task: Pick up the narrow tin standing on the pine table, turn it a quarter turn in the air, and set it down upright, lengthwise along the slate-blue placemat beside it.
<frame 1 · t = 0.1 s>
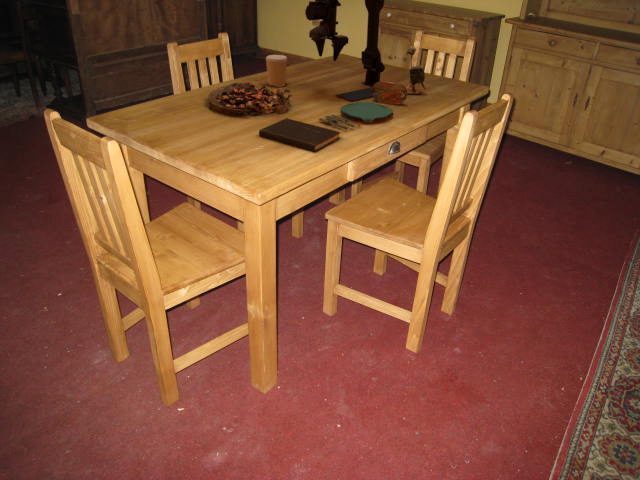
hand: (327, 58, 215), 15 cm above the table, tool pointing down, fingers open, 9 cm apart
tin: (388, 103, 215), on the table
food dish: (248, 104, 207), on the table
plant with pod: (412, 93, 229), on the table
hardcover book: (299, 138, 178), on the table
placemat: (360, 95, 223), on the table
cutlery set: (357, 118, 197), on the table
glass of beer: (276, 84, 232), on the table
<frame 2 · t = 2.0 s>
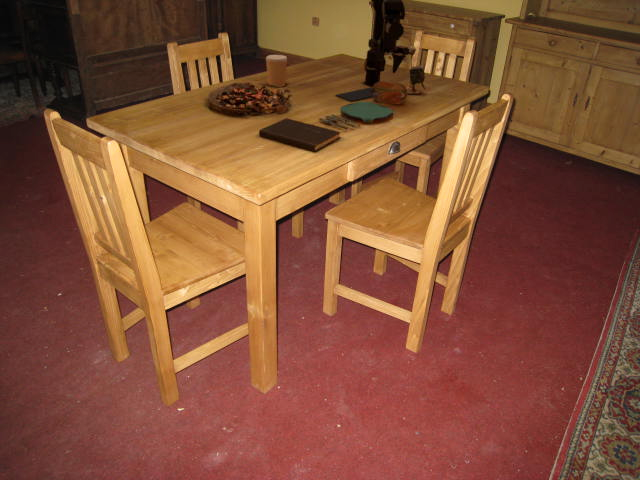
hand: (386, 74, 209), 11 cm above the table, tool pointing down, fingers open, 9 cm apart
nothing on the table moved.
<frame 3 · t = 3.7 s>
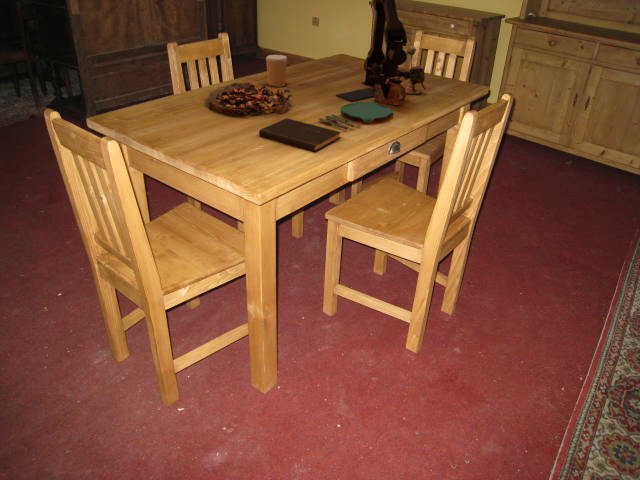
hand: (387, 97, 214), 2 cm above the table, tool pointing down, fingers closed on tin, 3 cm apart
tin: (388, 103, 215), on the table, touching gripper
everything else where it was.
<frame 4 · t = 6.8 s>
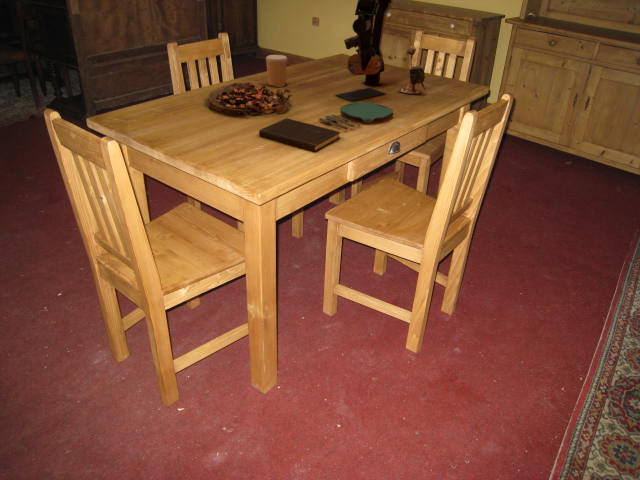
hand: (362, 69, 217), 11 cm above the table, tool pointing down, fingers closed on tin, 3 cm apart
tin: (363, 74, 219), point 9 cm above the table, touching gripper
everything else where it was.
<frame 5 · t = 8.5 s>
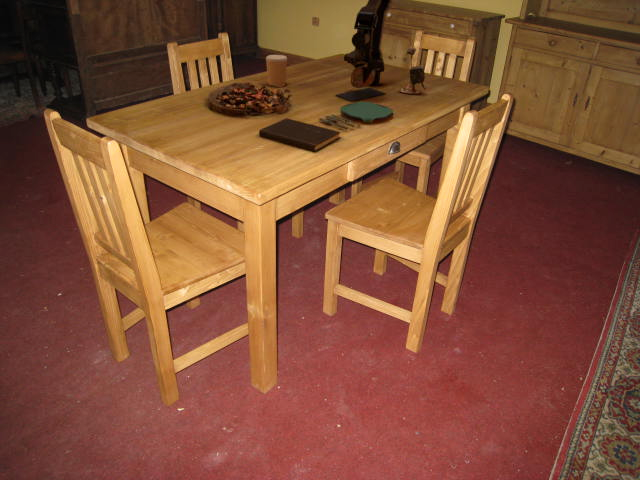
hand: (361, 81, 220), 6 cm above the table, tool pointing down, fingers closed on tin, 3 cm apart
tin: (361, 86, 222), point 4 cm above the table, touching gripper
everything else where it was.
when the fingers open (2 cm above the table, at t = 9.7 s): tin stays where it is, resting on placemat.
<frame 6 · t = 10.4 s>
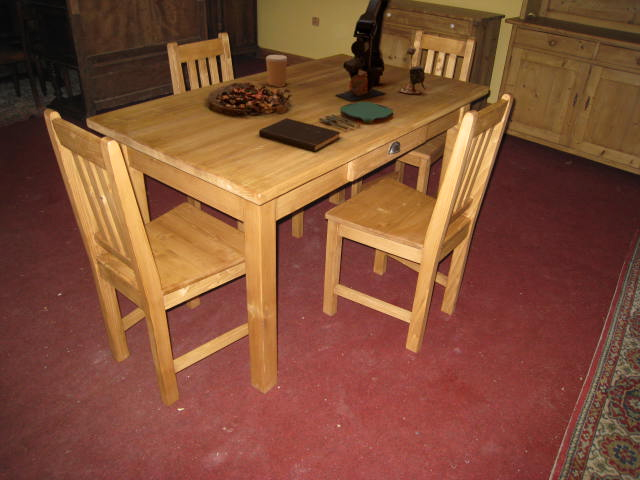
hand: (361, 88, 222), 3 cm above the table, tool pointing down, fingers open, 9 cm apart
tin: (361, 93, 223), resting on placemat
everything else where it was.
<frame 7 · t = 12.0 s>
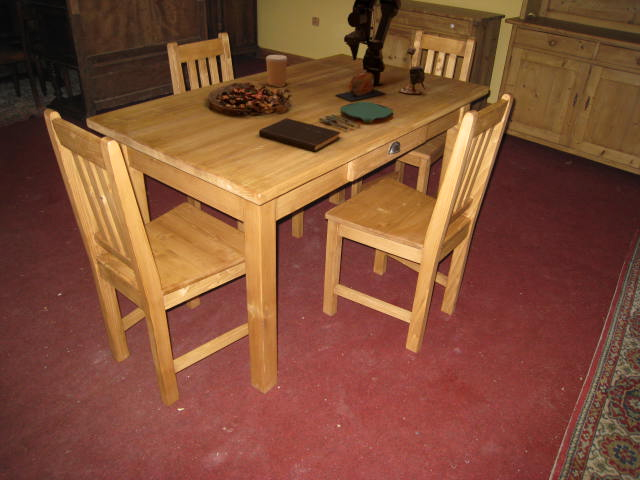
hand: (361, 62, 223), 12 cm above the table, tool pointing down, fingers open, 9 cm apart
nothing on the table moved.
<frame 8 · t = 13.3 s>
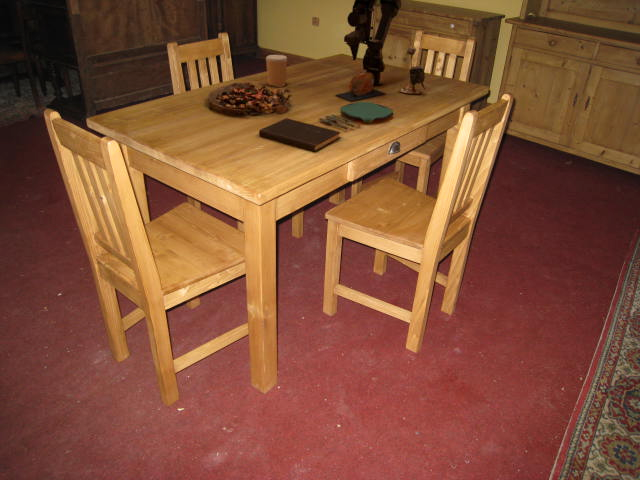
hand: (361, 62, 223), 12 cm above the table, tool pointing down, fingers open, 9 cm apart
nothing on the table moved.
at the end: tin 0.7 cm off-centre on the placemat, point 0.3 cm above the placemat's base; tin tilted 0°; the gripper is holding nothing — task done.
